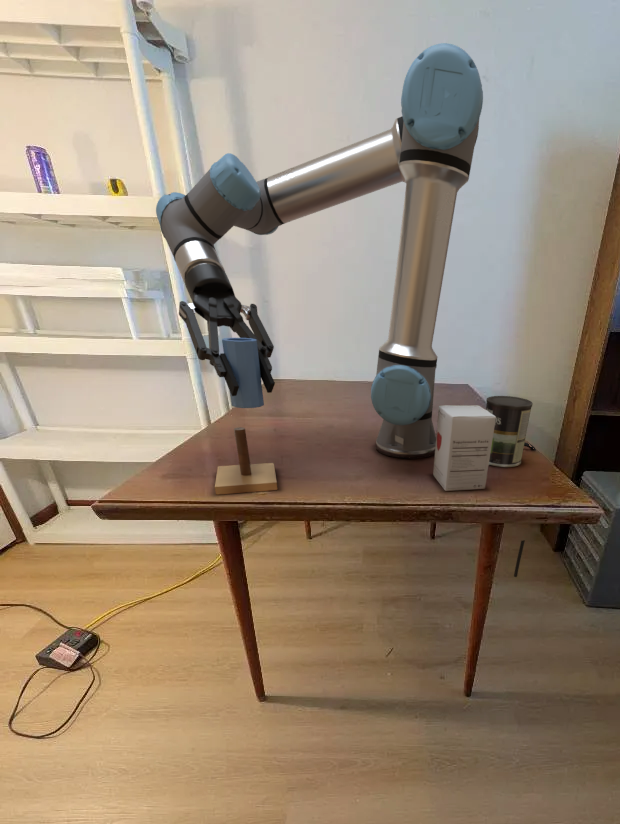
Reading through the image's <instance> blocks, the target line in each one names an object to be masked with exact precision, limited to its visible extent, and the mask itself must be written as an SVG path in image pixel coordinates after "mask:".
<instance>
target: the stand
mask: <svg viewBox="0 0 620 824" xmlns="http://www.w3.org/2000/svg"><path fill="white" fill-rule="evenodd" d="M246 431H247V430H246V428H245V427H241V426H240V427H239V426H238V427H234V428H233V432H234V433H233V434H234V440H235V446H236V453H237V458H238V464H234V465H217V470H216V477H215V482H214V491H215V495H217V496H219V495H229V494H231V495H232V494H242V493H255V492H268V491H278V481H277V476H276V468H275V463H274V462H267V463H266V462H265V463H251V460H250V452H249V446H248V438H247V432H246Z"/></svg>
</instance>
